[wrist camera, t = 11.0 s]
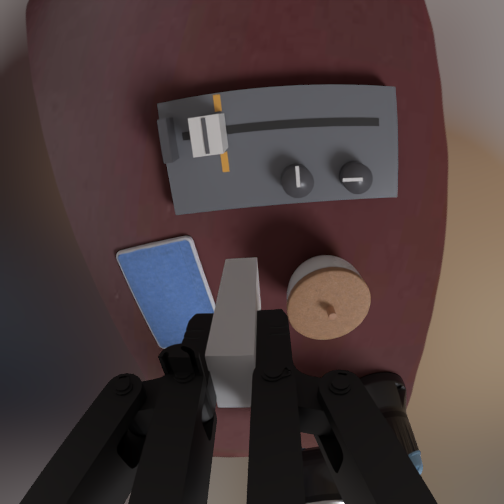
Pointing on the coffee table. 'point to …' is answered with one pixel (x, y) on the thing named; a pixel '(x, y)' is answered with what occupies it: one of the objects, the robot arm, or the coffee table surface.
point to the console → (284, 146)
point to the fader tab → (208, 135)
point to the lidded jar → (326, 298)
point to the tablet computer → (167, 285)
